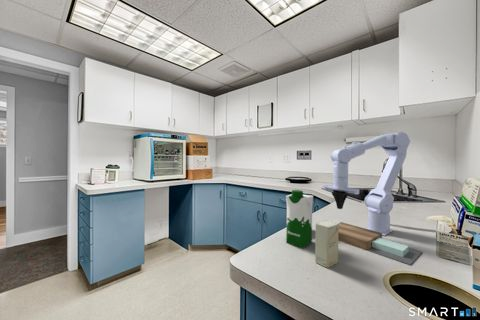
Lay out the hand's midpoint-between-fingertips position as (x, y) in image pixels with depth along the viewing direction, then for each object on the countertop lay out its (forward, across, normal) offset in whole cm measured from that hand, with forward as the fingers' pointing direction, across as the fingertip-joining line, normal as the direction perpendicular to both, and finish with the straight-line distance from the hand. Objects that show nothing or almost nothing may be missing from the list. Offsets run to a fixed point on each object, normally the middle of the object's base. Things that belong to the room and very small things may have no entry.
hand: (339, 208), depth 87 cm
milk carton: (+11, -4, -23) cm, 25 cm away
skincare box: (+11, +10, -28) cm, 31 cm away
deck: (+10, +6, -2) cm, 12 cm away
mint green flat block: (+10, +19, -2) cm, 22 cm away
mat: (+10, +21, -2) cm, 23 cm away
